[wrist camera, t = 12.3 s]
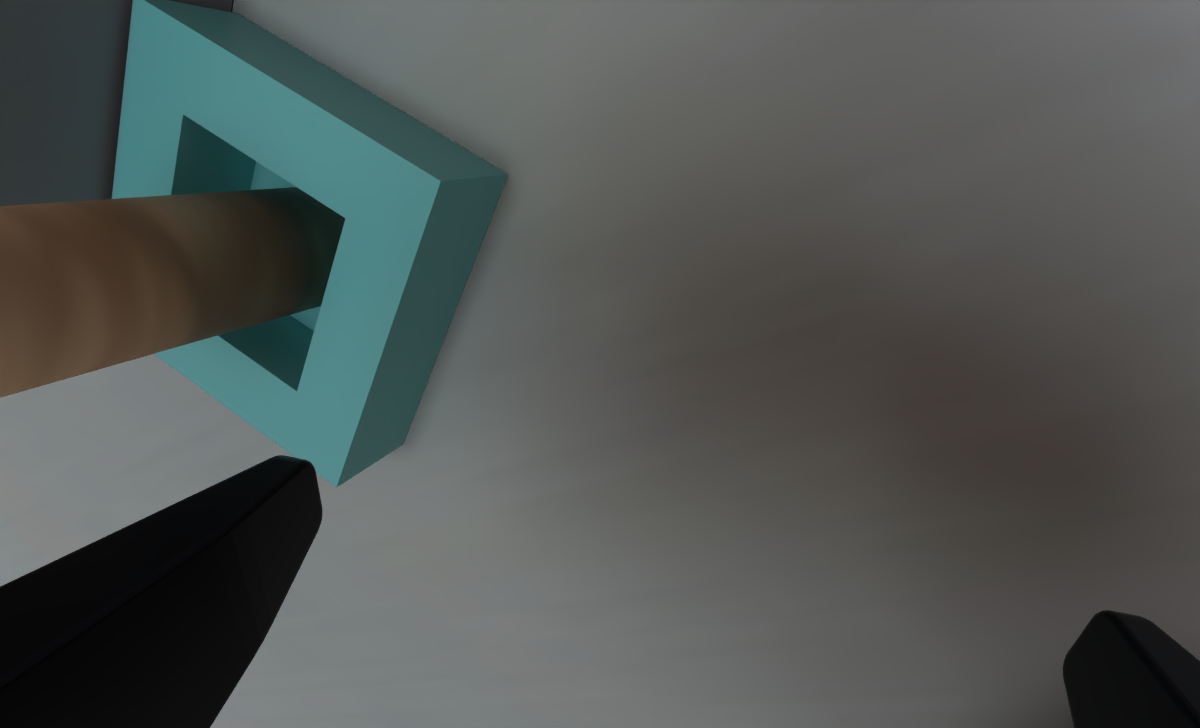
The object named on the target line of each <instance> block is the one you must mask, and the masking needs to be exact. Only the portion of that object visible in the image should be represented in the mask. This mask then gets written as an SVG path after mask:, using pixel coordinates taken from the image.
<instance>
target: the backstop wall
mask: <svg viewBox="0 0 1200 728" xmlns="http://www.w3.org/2000/svg"><path fill="white" fill-rule="evenodd" d="M169 1H174V2H180V3H185V4H190V5H195V6H201V7H206V8H211V9H216V10H222V11H227V12H231V7H232V2H233V0H169ZM132 4H133V0H0V206H10V205H26V204H41V203H56V202H72V201H87V200H103V199H112V192H113V182H114V173H115V163H116V154H117V145H118V135H119V126H120V117H121V107H122V98H123V88H124V79H125V70H126V60H127V51H128V42H129V32H130V23H131V13H132Z"/></svg>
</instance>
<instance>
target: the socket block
mask: <svg viewBox="0 0 1200 728" xmlns="http://www.w3.org/2000/svg"><path fill="white" fill-rule="evenodd" d="M507 176H508V174H507V173H505V172H503V171H502V170H500V169H498V168H497V167H495V166H493V165H492V164H490V163H488V162H487V161H485V160H483V159H482V158H480V157H478V156H477V155H475V154H473V153H472V152H470V151H468V150H466V149H465V148H463V147H461V146H460V145H458V144H456V143H455V142H453V141H451V140H450V139H448V138H446V137H445V136H443V135H441V134H440V133H438V132H436V131H435V130H433V129H431V128H430V127H428V126H426V125H424V124H423V123H421V122H419V121H418V120H416V119H414V118H413V117H411V116H409V115H408V114H406V113H404V112H403V111H401V110H399V109H398V108H396V107H394V106H393V105H391V104H389V103H388V102H386V101H384V100H382V99H381V98H379V97H377V96H376V95H374V94H372V93H371V92H369V91H367V90H366V89H364V88H362V87H361V86H359V85H357V84H356V83H354V82H352V81H351V80H349V79H347V78H346V77H344V76H342V75H340V74H339V73H337V72H335V71H334V70H332V69H330V68H329V67H327V66H325V65H324V64H322V63H320V62H319V61H317V60H315V59H314V58H312V57H310V56H309V55H307V54H305V53H304V52H302V51H300V50H298V49H297V48H295V47H293V46H292V45H290V44H288V43H287V42H285V41H283V40H282V39H280V38H278V37H277V36H275V35H273V34H272V33H270V32H268V31H267V30H265V29H263V28H262V27H260V26H258V25H256V24H255V23H253V22H251V21H250V20H248V19H246V18H245V17H243V16H241V15H240V14H237V13H232V12H227V11H222V10H216V9H211V8H206V7H201V6H195V5H190V4H185V3H180V2H174V1H169V0H133V4H132V13H131V23H130V32H129V42H128V51H127V60H126V70H125V79H124V88H123V98H122V107H121V117H120V126H119V135H118V145H117V154H116V163H115V173H114V182H113V192H112V199H118V198H134V197H149V196H164V195H180V194H195V193H211V192H226V191H242V190H257V189H272V188H288V187H297V188H299V189H300V190H302V191H304V192H305V193H307V194H308V195H310V196H311V197H313V198H314V199H316V200H318V201H319V202H321V203H322V204H324V205H325V206H327V207H329V208H330V209H332V210H333V211H335V212H336V213H338V214H339V215H341V216H343V217H344V218H345V222H344V226H343V229H342V233H341V236H340V240H339V243H338V247H337V251H336V254H335V258H334V261H333V265H332V268H331V272H330V276H329V279H328V283H327V286H326V290H325V293H324V297H323V301H322V304H321V306H319V307H316V308H312V309H309V310H305V311H302V312H298V313H295V314H291V315H288V316H284V317H281V318H277V319H274V320H270V321H267V322H263V323H260V324H256V325H253V326H249V327H246V328H242V329H239V330H235V331H232V332H228V333H225V334H221V335H218V336H214V337H211V338H207V339H204V340H200V341H197V342H193V343H190V344H186V345H183V346H179V347H176V348H172V349H169V350H165V351H161V352H158V353H154V355H156V356H157V357H158V358H160V359H161V360H162V361H164V362H165V363H167V364H168V365H169V366H171V367H172V368H173V369H175V370H176V371H178V372H179V373H180V374H182V375H183V376H184V377H186V378H187V379H188V380H190V381H191V382H193V383H194V384H195V385H197V386H198V387H199V388H201V389H202V390H204V391H205V392H206V393H208V394H209V395H210V396H212V397H213V398H215V399H216V400H217V401H219V402H220V403H221V404H223V405H224V406H225V407H227V408H228V409H230V410H231V411H232V412H234V413H235V414H236V415H238V416H239V417H241V418H242V419H243V420H245V421H246V422H247V423H249V424H250V425H252V426H253V427H254V428H256V429H257V430H258V431H260V432H261V433H262V434H264V435H265V436H267V437H268V438H269V439H271V440H272V441H273V442H275V443H276V444H278V445H279V446H280V447H282V448H283V449H284V450H286V451H287V452H289V453H290V454H291V455H293V456H294V457H295V458H300V459H305V460H308V461H310V462H311V463H312V464H313V466H314V468H315V471H316V473H317V474H319V475H320V476H321V477H323V478H324V479H325V480H327V481H328V482H330V483H331V484H332V485H334V486H335V487H338V486H339V485H341V484H343V483H344V482H346V481H347V480H349V479H350V478H352V477H353V476H355V475H356V474H358V473H360V472H361V471H363V470H364V469H366V468H367V467H369V466H370V465H372V464H373V463H375V462H377V461H378V460H380V459H381V458H383V457H384V456H386V455H387V454H389V453H391V452H392V451H394V450H395V449H397V448H398V447H400V446H401V445H403V443H404V441H405V438H406V436H407V433H408V430H409V428H410V425H411V423H412V420H413V418H414V415H415V412H416V410H417V407H418V405H419V402H420V400H421V397H422V394H423V392H424V389H425V387H426V384H427V382H428V379H429V376H430V374H431V371H432V369H433V366H434V364H435V361H436V358H437V356H438V353H439V351H440V348H441V346H442V343H443V340H444V338H445V335H446V333H447V330H448V328H449V325H450V322H451V320H452V317H453V315H454V312H455V309H456V307H457V304H458V302H459V299H460V297H461V294H462V291H463V289H464V286H465V284H466V281H467V279H468V276H469V273H470V271H471V268H472V266H473V263H474V261H475V258H476V255H477V253H478V250H479V248H480V245H481V243H482V240H483V237H484V235H485V232H486V230H487V227H488V225H489V222H490V219H491V217H492V214H493V212H494V209H495V207H496V204H497V201H498V199H499V196H500V194H501V191H502V189H503V186H504V183H505V181H506V178H507Z"/></svg>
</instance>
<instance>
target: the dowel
mask: <svg viewBox="0 0 1200 728" xmlns="http://www.w3.org/2000/svg"><path fill="white" fill-rule="evenodd" d="M344 222H345V218H344V217H343V216H341V215H339V214H338V213H336V212H335V211H333V210H332V209H330V208H329V207H327V206H325V205H324V204H322V203H321V202H319V201H318V200H316V199H314V198H313V197H311V196H310V195H308V194H307V193H305V192H304V191H302V190H300V189H299V188H297V187H288V188H272V189H257V190H242V191H226V192H211V193H195V194H180V195H164V196H149V197H134V198H118V199H103V200H87V201H72V202H56V203H41V204H26V205H10V206H0V397H4V396H7V395H11V394H14V393H18V392H21V391H25V390H28V389H32V388H35V387H39V386H42V385H46V384H49V383H53V382H56V381H60V380H63V379H67V378H70V377H74V376H77V375H81V374H84V373H88V372H91V371H95V370H98V369H102V368H105V367H109V366H112V365H116V364H119V363H123V362H126V361H130V360H133V359H137V358H140V357H144V356H147V355H151V354H154V353H158V352H161V351H165V350H169V349H172V348H176V347H179V346H183V345H186V344H190V343H193V342H197V341H200V340H204V339H207V338H211V337H214V336H218V335H221V334H225V333H228V332H232V331H235V330H239V329H242V328H246V327H249V326H253V325H256V324H260V323H263V322H267V321H270V320H274V319H277V318H281V317H284V316H288V315H291V314H295V313H298V312H302V311H305V310H309V309H312V308H316V307H319V306H321V304H322V301H323V297H324V293H325V290H326V286H327V283H328V279H329V276H330V272H331V268H332V265H333V261H334V258H335V254H336V251H337V247H338V243H339V240H340V236H341V233H342V229H343V226H344Z"/></svg>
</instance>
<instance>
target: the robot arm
mask: <svg viewBox="0 0 1200 728" xmlns="http://www.w3.org/2000/svg"><path fill="white" fill-rule="evenodd" d="M321 520H322V504H321V499H320V493H319V488H318V482H317V476H316V471H315V468H314V466H313V464H312V463H311V462H310V461H308V460H305V459H300V458H294V457H289V456H275V457H272V458H270V459H268V460H266V461H263V462H261V463H259V464H257V465H255V466H253V467H251V468H249V469H247V470H245V471H242V472H240V473H238V474H236V475H234V476H232V477H230V478H228V479H226V480H224V481H221V482H219V483H217V484H215V485H213V486H211V487H209V488H207V489H205V490H203V491H200V492H198V493H196V494H194V495H192V496H190V497H188V498H186V499H184V500H181V501H179V502H177V503H175V504H173V505H171V506H169V507H167V508H165V509H163V510H160V511H158V512H156V513H154V514H152V515H150V516H148V517H146V518H144V519H142V520H139V521H137V522H135V523H133V524H131V525H129V526H127V527H125V528H123V529H121V530H118V531H116V532H114V533H112V534H110V535H108V536H106V537H104V538H102V539H100V540H97V541H95V542H93V543H91V544H89V545H87V546H85V547H83V548H81V549H79V550H76V551H74V552H72V553H70V554H68V555H66V556H64V557H62V558H60V559H58V560H55V561H53V562H51V563H49V564H47V565H45V566H43V567H41V568H39V569H37V570H34V571H32V572H30V573H28V574H26V575H24V576H22V577H20V578H18V579H15V580H13V581H11V582H9V583H7V584H5V585H3V586H1V587H0V728H210V727H211V725H212V724H213V722H214V720H215V719H216V717H217V716H218V714H219V712H220V711H221V709H222V708H223V706H224V704H225V703H226V701H227V700H228V698H229V696H230V695H231V693H232V692H233V690H234V688H235V687H236V685H237V683H238V682H239V680H240V679H241V677H242V675H243V674H244V672H245V671H246V669H247V667H248V666H249V664H250V663H251V661H252V659H253V658H254V656H255V654H256V653H257V651H258V649H259V648H260V646H261V644H262V643H263V641H264V639H265V637H266V635H267V633H268V631H269V629H270V627H271V625H272V624H273V622H274V619H275V617H276V615H277V613H278V611H279V609H280V607H281V605H282V603H283V601H284V599H285V597H286V595H287V593H288V591H289V589H290V587H291V585H292V583H293V581H294V579H295V577H296V575H297V573H298V571H299V569H300V567H301V565H302V562H303V560H304V558H305V556H306V554H307V552H308V550H309V548H310V546H311V544H312V542H313V540H314V538H315V536H316V534H317V532H318V530H319V527H320V524H321ZM1063 678H1064V683H1065V688H1066V692H1067V697H1068V701H1069V706H1070V710H1071V715H1072V719H1073V724H1074V728H1200V661H1199V660H1198V659H1197V658H1195V657H1194V656H1193V655H1192V654H1190V653H1189V652H1188V651H1187V650H1186V649H1184V648H1183V647H1182V646H1181V645H1180V644H1178V643H1177V642H1176V641H1175V640H1173V639H1172V638H1171V637H1170V636H1169V635H1167V634H1166V633H1165V632H1164V631H1163V630H1161V629H1160V628H1159V627H1158V626H1156V625H1155V624H1154V623H1153V622H1151V621H1150V620H1148V619H1146V618H1143V617H1140V616H1136V615H1131V614H1125V613H1120V612H1115V611H1109V610H1106V611H1101V612H1099V613H1097V614H1095V615H1094V617H1093V618H1092V619H1091V620H1090V622H1089V623H1088V625H1087V626H1086V628H1085V629H1084V630H1083V632H1082V633H1081V635H1080V636H1079V637H1078V639H1077V640H1076V642H1075V643H1074V644H1073V646H1072V647H1071V649H1070V650H1069V651H1068V653H1067V655H1066V657H1065V660H1064V665H1063Z"/></svg>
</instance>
